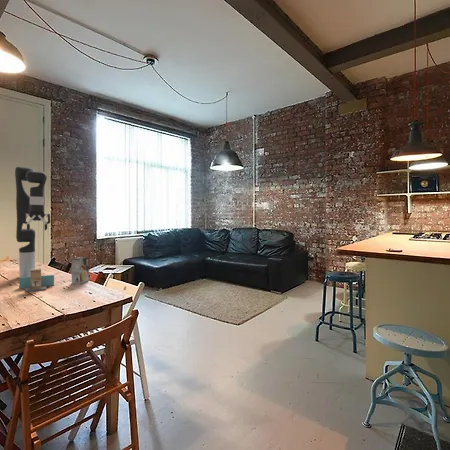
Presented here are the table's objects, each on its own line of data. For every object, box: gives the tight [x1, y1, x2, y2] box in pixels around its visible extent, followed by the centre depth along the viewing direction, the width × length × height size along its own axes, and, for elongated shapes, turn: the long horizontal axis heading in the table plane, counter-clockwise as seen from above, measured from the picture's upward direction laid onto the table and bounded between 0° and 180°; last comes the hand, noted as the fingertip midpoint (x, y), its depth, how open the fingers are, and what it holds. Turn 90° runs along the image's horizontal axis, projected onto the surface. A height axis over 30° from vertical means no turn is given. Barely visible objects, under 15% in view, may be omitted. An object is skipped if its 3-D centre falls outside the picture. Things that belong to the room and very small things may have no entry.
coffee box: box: [71, 256, 90, 285], centre depth 197 cm, size 9×6×16 cm
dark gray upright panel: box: [24, 286, 47, 293], centre depth 178 cm, size 7×10×1 cm
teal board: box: [18, 274, 55, 289], centre depth 184 cm, size 1×18×6 cm, turn 118°
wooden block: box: [30, 268, 42, 289], centre depth 177 cm, size 5×5×11 cm
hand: (37, 230), depth 187 cm, fingers open, 8 cm apart
